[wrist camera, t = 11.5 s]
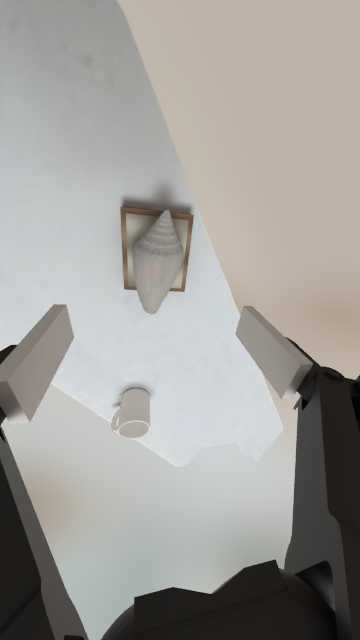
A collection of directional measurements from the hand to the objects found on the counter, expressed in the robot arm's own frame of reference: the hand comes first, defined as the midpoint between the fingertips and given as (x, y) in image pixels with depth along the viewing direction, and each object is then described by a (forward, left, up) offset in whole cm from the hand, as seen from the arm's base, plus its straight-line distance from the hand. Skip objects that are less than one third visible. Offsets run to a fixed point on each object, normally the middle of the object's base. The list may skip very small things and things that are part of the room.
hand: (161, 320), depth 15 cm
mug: (+44, -5, -27) cm, 52 cm away
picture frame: (0, +1, -27) cm, 27 cm away
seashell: (+2, +1, -24) cm, 24 cm away
